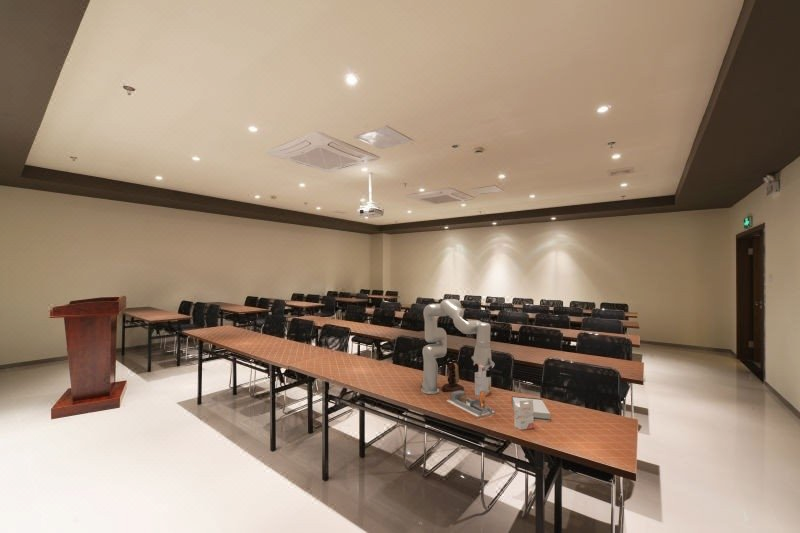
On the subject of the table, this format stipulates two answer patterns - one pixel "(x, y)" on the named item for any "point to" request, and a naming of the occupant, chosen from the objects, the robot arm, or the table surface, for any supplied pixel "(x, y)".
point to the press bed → (467, 404)
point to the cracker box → (482, 381)
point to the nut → (463, 399)
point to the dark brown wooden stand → (453, 378)
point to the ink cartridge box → (523, 415)
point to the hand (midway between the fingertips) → (482, 374)
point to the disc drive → (535, 408)
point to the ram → (480, 403)
